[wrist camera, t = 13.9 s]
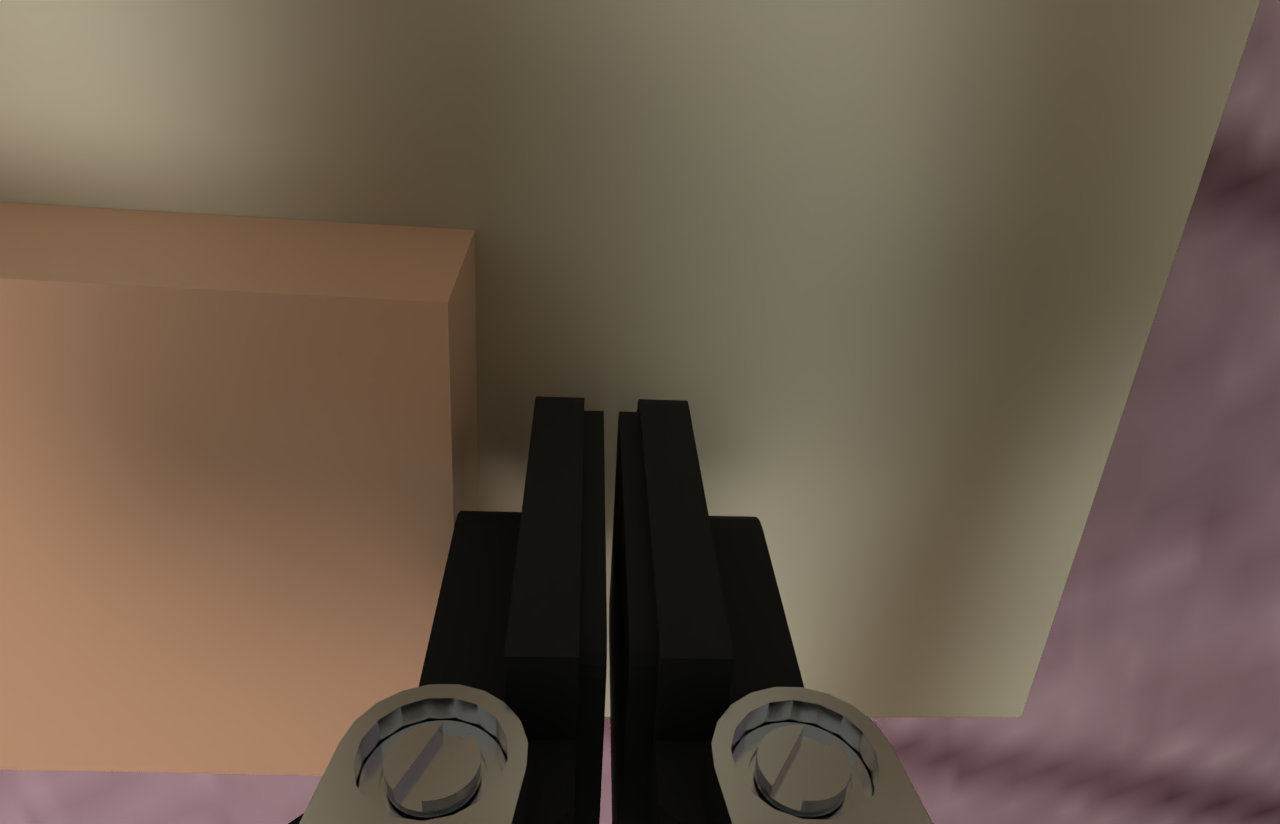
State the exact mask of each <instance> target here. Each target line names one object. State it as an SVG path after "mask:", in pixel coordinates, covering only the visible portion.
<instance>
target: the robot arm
mask: <svg viewBox="0 0 1280 824" xmlns="http://www.w3.org/2000/svg"><path fill="white" fill-rule="evenodd" d="M584 403H585V398H578V397H542V396H536V398H535V405H534V413H533V421H532V430H531V438H530V446H529V454H528V463H527V471H526V479H525V488H524V496H523V504H522V512H497V511H460V512H459V513H458V515H457V519H456V522H455V526H454V531H453V535H452V540H451V544H450V549H449V553H448V557H447V562H446V566H445V571H444V575H443V580H442V584H441V589H440V593H439V598H438V602H437V607H436V611H435V616H434V620H433V624H432V629H431V633H430V638H429V642H428V647H427V651H426V656H425V660H424V665H423V669H422V674H421V678H420V683H419V687H416V688H412V689H407V690H403V691H401V692H399V693H396V694H394V695H392V696H390V697H388V698H386V699H384V700H382V701H380V702H378V703H376V704H375V705H373V706H372V707H371V708H370V709H369V710H367V711H366V712H365V713H364V714H362V715H361V716H360V717H359V718H357V719H356V720H355V721H354V722H353V724H352V725H351V727H350V728H349V729H348V731H347V732H346V734H345V735H344V737H343V738H342V739H341V741H340V742H339V744H338V746H337V748H336V750H335V752H334V754H333V756H332V758H331V760H330V762H329V764H328V766H327V768H326V770H325V772H324V774H323V776H322V778H321V780H320V782H319V784H318V786H317V788H316V790H315V792H314V794H313V796H312V799H311V801H310V803H309V805H308V807H307V809H306V811H305V813H304V814H302V815H301V816H299V817H298V818H296V819H295V820H293V821H292V822H290V823H289V824H599V819H600V798H601V778H602V757H603V737H604V717H605V696H606V670H607V599H606V530H605V461H604V411H585V410H584ZM609 663H610V720H611V778H612V824H933V823H932V821H931V819H930V817H929V815H928V813H927V811H926V810H925V808H924V806H923V804H922V802H921V800H920V798H919V796H918V794H917V793H916V791H915V789H914V787H913V785H912V783H911V781H910V779H909V777H908V776H907V774H906V772H905V770H904V768H903V766H902V764H901V762H900V760H899V759H898V757H897V755H896V753H895V751H894V749H893V747H892V745H891V744H890V743H889V741H888V740H887V739H886V737H885V736H884V734H883V733H882V732H881V730H880V729H879V728H878V726H877V725H876V724H875V723H874V722H873V721H872V720H870V719H869V718H868V717H867V716H866V715H864V714H863V713H862V712H861V711H859V710H858V709H857V708H856V707H854V706H853V705H851V704H849V703H847V702H844V701H842V700H840V699H838V698H836V697H834V696H832V695H830V694H828V693H823V692H819V691H815V690H811V689H807V688H804V684H803V680H802V677H801V673H800V669H799V665H798V661H797V658H796V654H795V650H794V646H793V642H792V638H791V635H790V631H789V627H788V623H787V619H786V616H785V612H784V608H783V604H782V600H781V596H780V593H779V589H778V585H777V581H776V577H775V574H774V570H773V566H772V562H771V558H770V555H769V551H768V547H767V543H766V539H765V535H764V532H763V528H762V525H761V523H760V520H759V519H758V518H757V517H750V516H709V514H708V509H707V503H706V498H705V492H704V487H703V481H702V476H701V470H700V465H699V459H698V454H697V448H696V443H695V437H694V431H693V426H692V420H691V415H690V409H689V404H688V401H686V400H652V399H638V405H637V412H623V411H619V417H618V434H617V455H616V476H615V496H614V517H613V537H612V558H611V579H610V600H609Z"/></svg>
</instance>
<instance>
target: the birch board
mask: <svg viewBox="0 0 1280 824" xmlns="http://www.w3.org/2000/svg"><path fill="white" fill-rule="evenodd" d="M1260 1H1261V0H0V202H11V203H28V204H44V205H61V206H78V207H95V208H112V209H128V210H145V211H162V212H179V213H196V214H213V215H229V216H246V217H263V218H280V219H297V220H313V221H330V222H347V223H364V224H381V225H397V226H414V227H431V228H448V229H465V230H475V280H476V365H477V450H478V511H497V512H522V504H523V496H524V488H525V479H526V471H527V463H528V454H529V446H530V438H531V430H532V421H533V413H534V405H535V398H536V396H542V397H578V398H585V403H584V410H585V411H604V461H605V530H606V599H607V670H606V696H605V717H610V663H609V600H610V579H611V558H612V537H613V517H614V496H615V476H616V455H617V434H618V417H619V411H623V412H637V405H638V399H652V400H686V401H688V404H689V409H690V415H691V420H692V426H693V431H694V437H695V443H696V448H697V454H698V459H699V465H700V470H701V476H702V481H703V487H704V492H705V498H706V503H707V509H708V514H709V516H750V517H757V518H758V519H759V520H760V523H761V525H762V528H763V532H764V535H765V539H766V543H767V547H768V551H769V555H770V558H771V562H772V566H773V570H774V574H775V577H776V581H777V585H778V589H779V593H780V596H781V600H782V604H783V608H784V612H785V616H786V619H787V623H788V627H789V631H790V635H791V638H792V642H793V646H794V650H795V654H796V658H797V661H798V665H799V669H800V673H801V677H802V680H803V684H804V688H807V689H811V690H815V691H819V692H823V693H828V694H830V695H832V696H834V697H836V698H838V699H840V700H842V701H844V702H847V703H849V704H851V705H853V706H854V707H856V708H857V709H858V710H859V711H861V712H862V713H863V714H864V715H866V716H867V717H1021V716H1022V713H1023V710H1024V707H1025V704H1026V701H1027V698H1028V695H1029V692H1030V689H1031V686H1032V683H1033V680H1034V677H1035V674H1036V671H1037V668H1038V665H1039V662H1040V659H1041V656H1042V653H1043V650H1044V647H1045V644H1046V641H1047V638H1048V635H1049V632H1050V629H1051V626H1052V623H1053V620H1054V617H1055V614H1056V611H1057V608H1058V605H1059V602H1060V599H1061V596H1062V593H1063V590H1064V587H1065V584H1066V581H1067V578H1068V575H1069V572H1070V569H1071V566H1072V563H1073V560H1074V557H1075V554H1076V551H1077V548H1078V545H1079V542H1080V539H1081V536H1082V533H1083V530H1084V527H1085V524H1086V521H1087V518H1088V515H1089V512H1090V509H1091V506H1092V503H1093V500H1094V497H1095V494H1096V491H1097V488H1098V485H1099V482H1100V479H1101V476H1102V473H1103V470H1104V467H1105V464H1106V461H1107V458H1108V455H1109V452H1110V449H1111V446H1112V443H1113V440H1114V437H1115V434H1116V431H1117V428H1118V425H1119V422H1120V419H1121V416H1122V414H1123V411H1124V408H1125V405H1126V402H1127V399H1128V396H1129V393H1130V390H1131V387H1132V384H1133V381H1134V378H1135V375H1136V372H1137V369H1138V366H1139V363H1140V360H1141V357H1142V354H1143V351H1144V348H1145V345H1146V342H1147V339H1148V336H1149V333H1150V330H1151V327H1152V324H1153V321H1154V318H1155V315H1156V312H1157V309H1158V306H1159V303H1160V300H1161V297H1162V294H1163V291H1164V288H1165V285H1166V282H1167V279H1168V276H1169V273H1170V270H1171V267H1172V264H1173V261H1174V258H1175V255H1176V252H1177V249H1178V246H1179V243H1180V240H1181V237H1182V234H1183V231H1184V228H1185V225H1186V222H1187V219H1188V216H1189V213H1190V210H1191V207H1192V204H1193V201H1194V198H1195V195H1196V192H1197V189H1198V186H1199V183H1200V180H1201V177H1202V174H1203V171H1204V168H1205V165H1206V162H1207V159H1208V156H1209V153H1210V150H1211V147H1212V144H1213V141H1214V138H1215V135H1216V132H1217V129H1218V126H1219V123H1220V120H1221V117H1222V114H1223V111H1224V108H1225V105H1226V102H1227V99H1228V96H1229V93H1230V90H1231V87H1232V84H1233V81H1234V78H1235V75H1236V72H1237V69H1238V66H1239V63H1240V60H1241V57H1242V54H1243V51H1244V48H1245V45H1246V42H1247V40H1248V37H1249V34H1250V31H1251V28H1252V25H1253V22H1254V19H1255V16H1256V13H1257V10H1258V7H1259V4H1260Z"/></svg>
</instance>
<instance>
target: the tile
mask: <svg viewBox="0 0 1280 824" xmlns="http://www.w3.org/2000/svg"><path fill="white" fill-rule="evenodd" d="M460 511H478V450H477V365H476V280H475V230H465V229H448V228H431V227H414V226H397V225H381V224H364V223H347V222H330V221H313V220H297V219H280V218H263V217H246V216H229V215H213V214H196V213H179V212H162V211H145V210H128V209H112V208H95V207H78V206H61V205H44V204H28V203H11V202H0V769H2V770H56V771H110V772H164V773H218V774H273V775H323V774H324V772H325V770H326V768H327V766H328V764H329V762H330V760H331V758H332V756H333V754H334V752H335V750H336V748H337V746H338V744H339V742H340V741H341V739H342V738H343V737H344V735H345V734H346V732H347V731H348V729H349V728H350V727H351V725H352V724H353V722H354V721H355V720H356V719H357V718H359V717H360V716H361V715H362V714H364V713H365V712H366V711H367V710H369V709H370V708H371V707H372V706H373V705H375V704H376V703H378V702H380V701H382V700H384V699H386V698H388V697H390V696H392V695H394V694H396V693H399V692H401V691H403V690H407V689H412V688H416V687H419V683H420V678H421V674H422V669H423V665H424V660H425V656H426V651H427V647H428V642H429V638H430V633H431V629H432V624H433V620H434V616H435V611H436V607H437V602H438V598H439V593H440V589H441V584H442V580H443V575H444V571H445V566H446V562H447V557H448V553H449V549H450V544H451V540H452V535H453V531H454V526H455V522H456V519H457V515H458V513H459V512H460Z"/></svg>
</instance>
